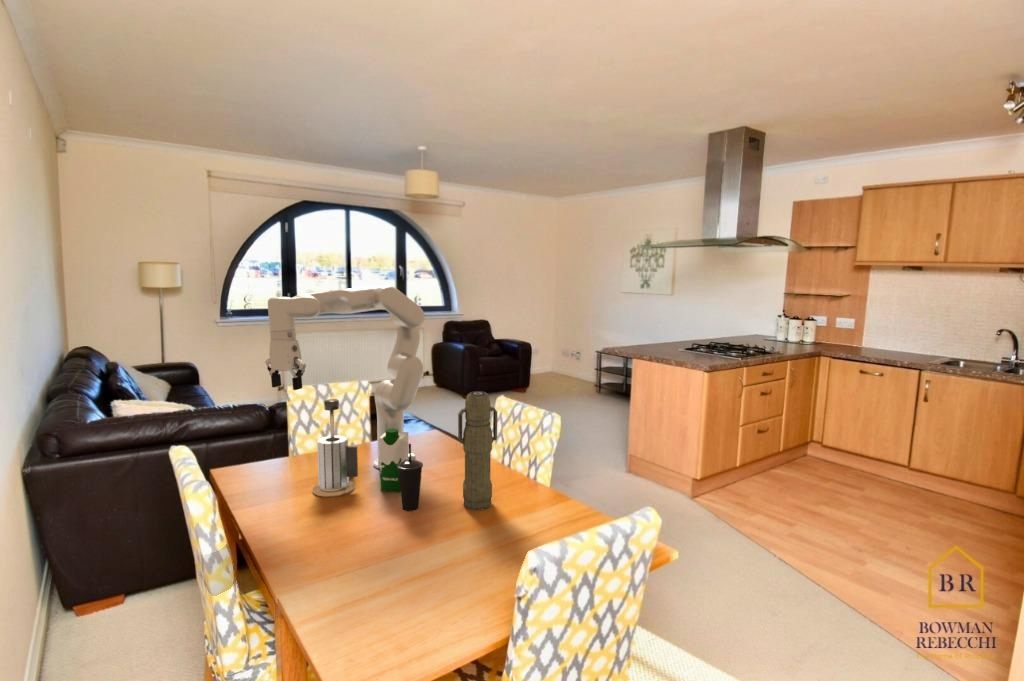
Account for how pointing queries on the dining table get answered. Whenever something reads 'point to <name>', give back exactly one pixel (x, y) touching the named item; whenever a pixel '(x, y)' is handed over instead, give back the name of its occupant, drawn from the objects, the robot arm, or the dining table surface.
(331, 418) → the plunger
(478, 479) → the thermos
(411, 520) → the dining table surface
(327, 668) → the dining table surface
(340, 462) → the cafetiere
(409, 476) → the drinking cup
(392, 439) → the milk carton
